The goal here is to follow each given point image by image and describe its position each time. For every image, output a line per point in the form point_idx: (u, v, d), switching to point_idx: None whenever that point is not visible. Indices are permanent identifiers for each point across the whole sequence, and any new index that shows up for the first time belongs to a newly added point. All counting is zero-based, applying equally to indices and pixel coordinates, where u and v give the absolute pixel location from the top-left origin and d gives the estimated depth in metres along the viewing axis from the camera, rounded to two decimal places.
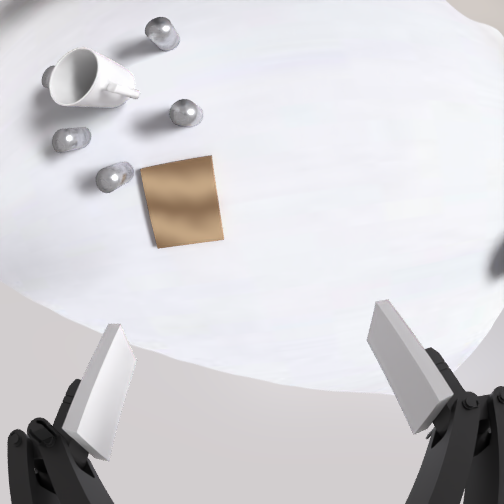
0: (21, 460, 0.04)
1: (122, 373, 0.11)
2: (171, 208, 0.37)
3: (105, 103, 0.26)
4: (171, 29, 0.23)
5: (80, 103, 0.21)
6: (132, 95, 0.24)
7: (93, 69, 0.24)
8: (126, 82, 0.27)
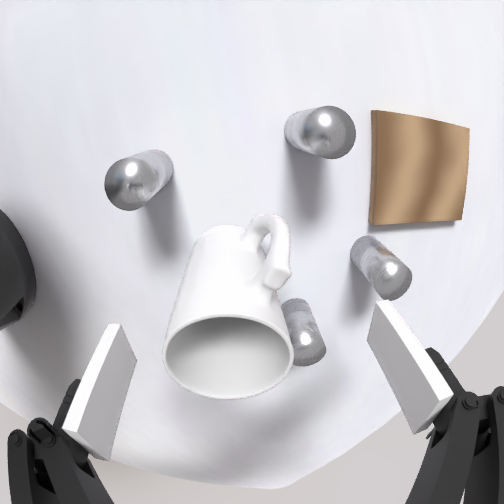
0: (21, 460, 0.04)
1: (122, 373, 0.11)
2: (430, 187, 0.21)
3: None
4: (134, 157, 0.15)
5: None
6: (288, 230, 0.14)
7: None
8: (233, 240, 0.19)
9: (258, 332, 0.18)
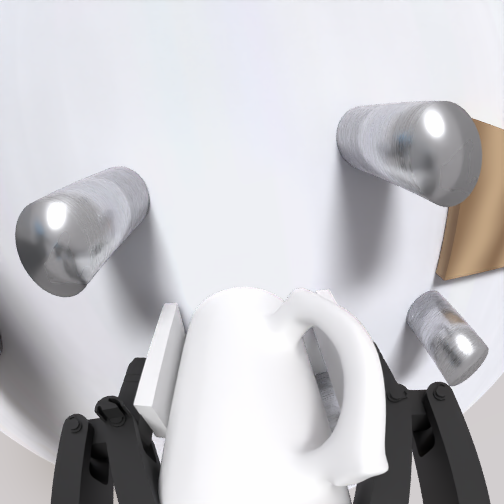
0: (76, 448, 0.06)
1: (179, 351, 0.13)
2: None
3: None
4: (58, 194, 0.07)
5: None
6: (379, 362, 0.06)
7: None
8: (258, 328, 0.11)
9: None
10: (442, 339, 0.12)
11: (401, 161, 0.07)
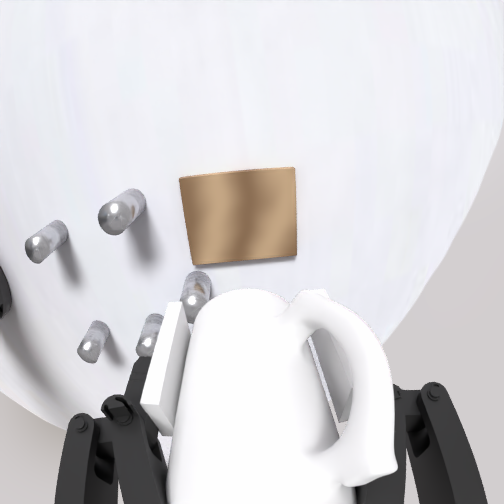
0: (82, 448, 0.06)
1: (184, 349, 0.13)
2: (245, 231, 0.30)
3: None
4: (35, 235, 0.24)
5: None
6: (388, 364, 0.06)
7: None
8: (263, 330, 0.11)
9: None
10: (181, 294, 0.30)
11: None
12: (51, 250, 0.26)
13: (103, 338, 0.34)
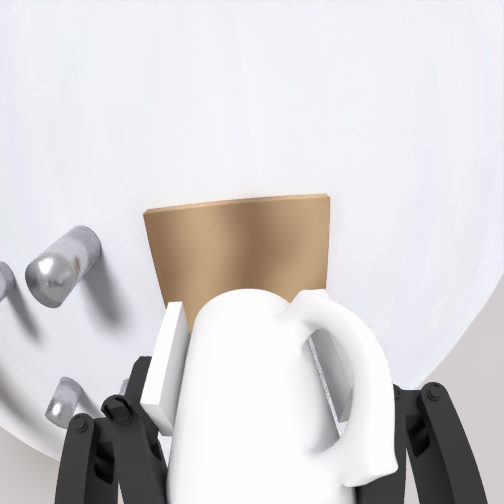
0: (82, 448, 0.06)
1: (184, 349, 0.13)
2: None
3: None
4: None
5: None
6: (388, 364, 0.06)
7: None
8: (264, 330, 0.11)
9: None
10: None
11: None
12: None
13: (74, 401, 0.23)
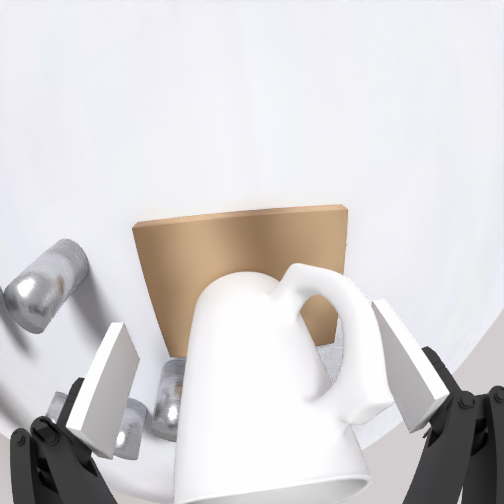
0: (24, 459, 0.05)
1: (125, 372, 0.12)
2: None
3: None
4: None
5: None
6: (372, 309, 0.07)
7: None
8: (260, 303, 0.12)
9: None
10: None
11: None
12: None
13: None
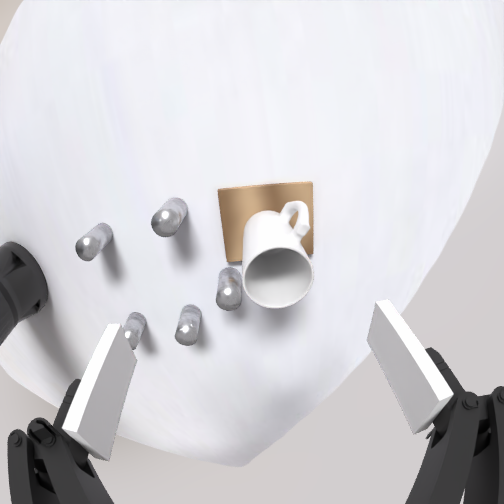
0: (21, 460, 0.05)
1: (122, 373, 0.11)
2: None
3: None
4: (86, 236, 0.31)
5: None
6: (307, 207, 0.27)
7: None
8: (274, 217, 0.32)
9: (291, 273, 0.31)
10: (218, 287, 0.36)
11: None
12: (100, 249, 0.33)
13: (141, 328, 0.41)
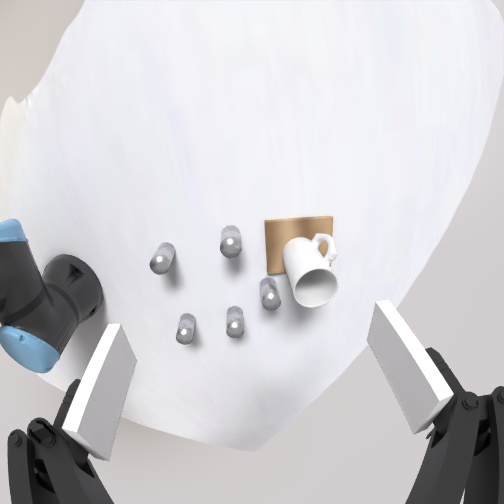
0: (21, 460, 0.04)
1: (122, 373, 0.11)
2: None
3: None
4: (160, 255, 0.43)
5: None
6: None
7: None
8: (307, 244, 0.45)
9: (319, 283, 0.44)
10: (262, 292, 0.49)
11: None
12: None
13: (193, 326, 0.53)
